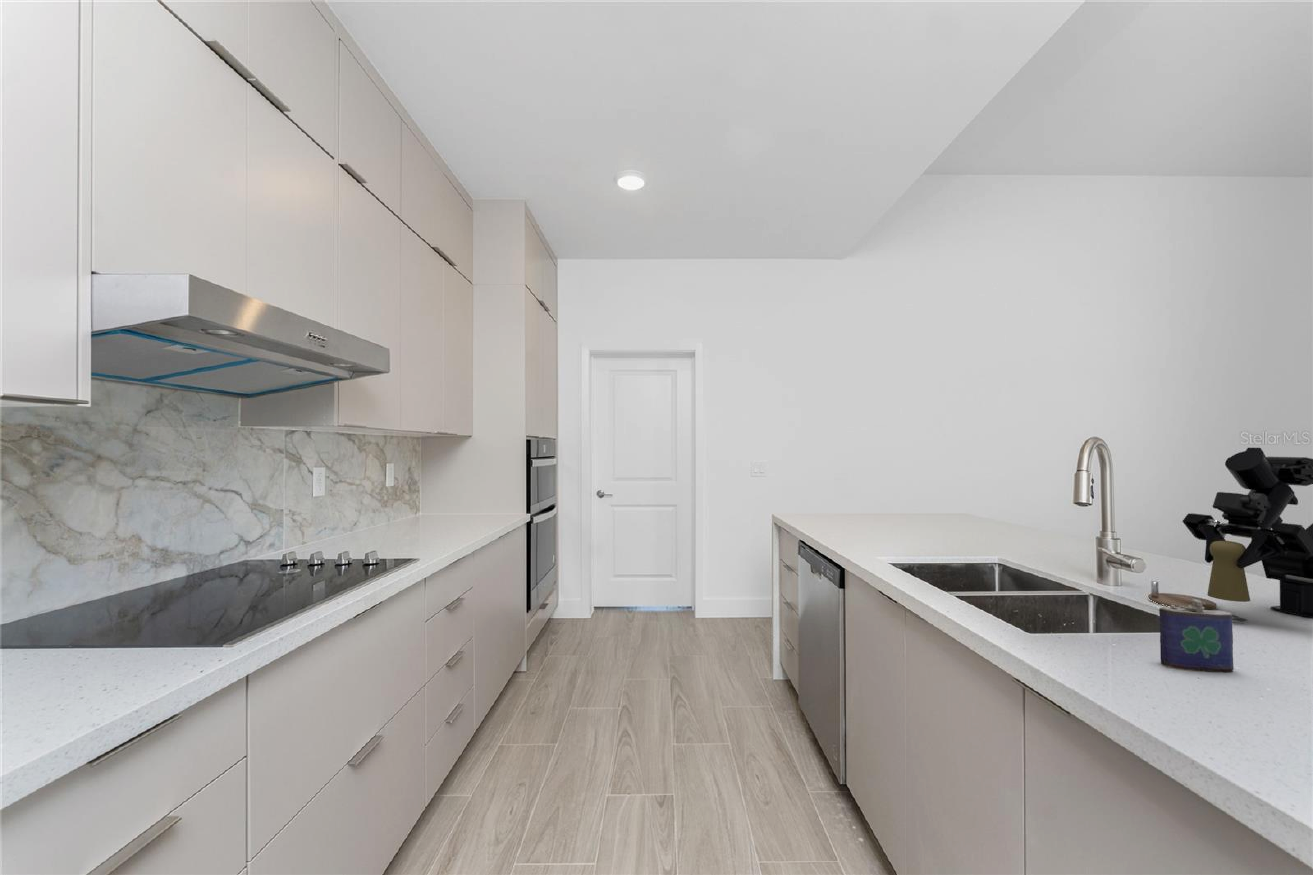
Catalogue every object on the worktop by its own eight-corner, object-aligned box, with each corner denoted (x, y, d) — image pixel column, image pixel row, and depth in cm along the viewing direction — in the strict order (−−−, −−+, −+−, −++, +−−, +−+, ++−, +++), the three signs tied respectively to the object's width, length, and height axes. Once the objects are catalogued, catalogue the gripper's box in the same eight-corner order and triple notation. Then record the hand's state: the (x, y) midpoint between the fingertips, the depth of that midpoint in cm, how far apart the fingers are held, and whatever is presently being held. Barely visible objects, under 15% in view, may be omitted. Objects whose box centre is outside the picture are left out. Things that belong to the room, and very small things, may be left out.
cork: (1259, 601, 111) (1259, 544, 111) (1227, 601, 111) (1226, 544, 111) (1229, 593, 117) (1228, 538, 117) (1198, 593, 117) (1198, 538, 117)
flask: (1227, 667, 91) (1226, 598, 91) (1239, 674, 88) (1239, 604, 88) (1156, 661, 94) (1155, 595, 94) (1166, 668, 91) (1166, 600, 91)
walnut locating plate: (1170, 594, 133) (1170, 576, 133) (1229, 608, 122) (1229, 587, 122) (1135, 599, 129) (1135, 579, 129) (1193, 613, 119) (1193, 592, 119)
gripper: (1188, 475, 124) (1149, 529, 121) (1303, 481, 106) (1260, 544, 103) (1216, 510, 126) (1178, 564, 123) (1334, 522, 108) (1292, 586, 105)
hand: (1222, 564), depth 114 cm, fingers closed on cork, 5 cm apart
